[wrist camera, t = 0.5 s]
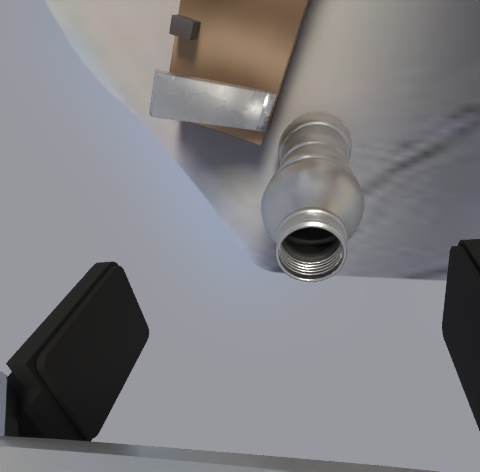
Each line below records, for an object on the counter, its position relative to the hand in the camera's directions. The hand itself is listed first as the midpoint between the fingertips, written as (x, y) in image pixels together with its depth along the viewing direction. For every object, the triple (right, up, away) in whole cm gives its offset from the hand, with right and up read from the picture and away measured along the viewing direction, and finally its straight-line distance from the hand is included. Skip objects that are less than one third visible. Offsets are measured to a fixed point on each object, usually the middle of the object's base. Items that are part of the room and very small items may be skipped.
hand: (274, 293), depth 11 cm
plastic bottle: (+6, +11, +25) cm, 28 cm away
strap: (-3, +12, +17) cm, 21 cm away
